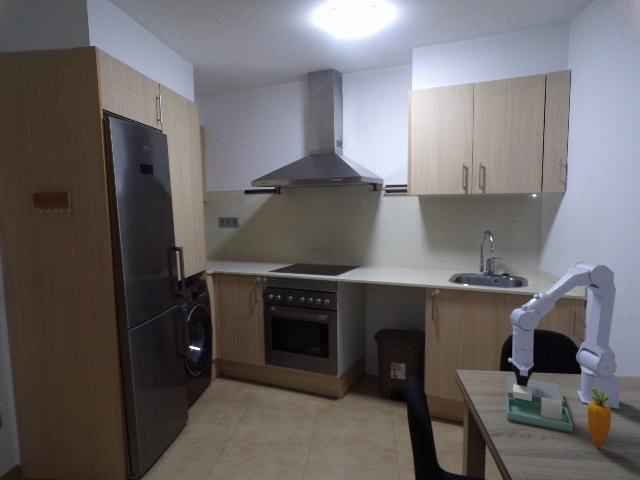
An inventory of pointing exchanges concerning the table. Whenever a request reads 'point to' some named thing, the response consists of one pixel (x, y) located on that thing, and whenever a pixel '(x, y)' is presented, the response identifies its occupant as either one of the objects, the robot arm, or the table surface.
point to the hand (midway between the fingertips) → (521, 389)
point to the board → (537, 390)
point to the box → (536, 415)
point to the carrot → (599, 419)
